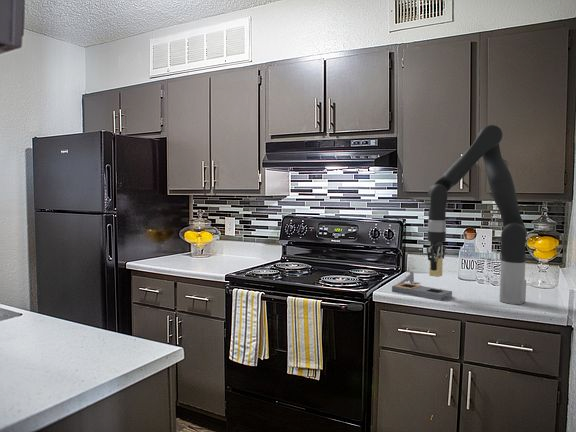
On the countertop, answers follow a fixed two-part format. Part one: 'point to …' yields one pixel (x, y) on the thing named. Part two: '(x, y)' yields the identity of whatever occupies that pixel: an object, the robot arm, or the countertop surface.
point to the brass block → (437, 268)
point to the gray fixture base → (422, 291)
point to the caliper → (407, 278)
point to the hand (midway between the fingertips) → (436, 269)
